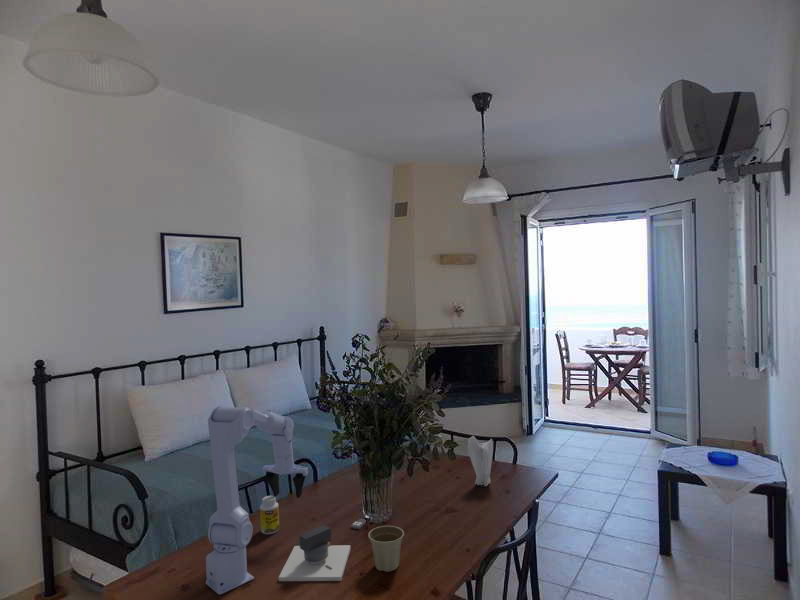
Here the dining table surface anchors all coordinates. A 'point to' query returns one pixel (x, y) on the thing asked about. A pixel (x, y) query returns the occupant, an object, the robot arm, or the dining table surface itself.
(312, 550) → the dark grey blocky piece
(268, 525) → the supplement bottle
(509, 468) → the dining table surface
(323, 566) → the post base
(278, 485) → the robot arm
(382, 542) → the flower pot
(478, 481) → the white vase
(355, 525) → the key chain
